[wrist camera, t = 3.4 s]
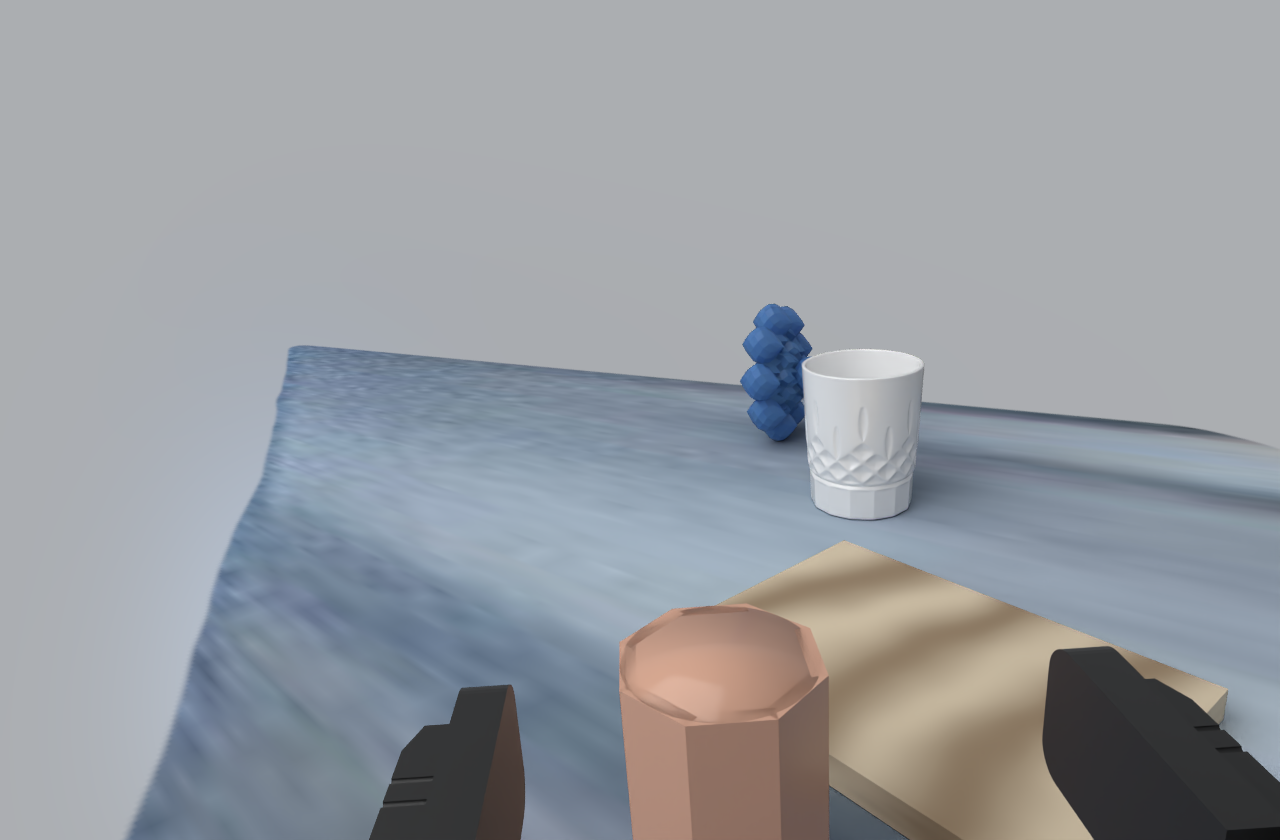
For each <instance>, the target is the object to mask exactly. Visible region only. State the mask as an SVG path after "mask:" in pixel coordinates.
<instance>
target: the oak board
mask: <svg viewBox="0 0 1280 840" xmlns="http://www.w3.org/2000/svg"><path fill="white" fill-rule="evenodd" d="M745 603H747V604H749V605H752V606H754V607H757V608H760V609H762V610H765V611H767V612H770V613H772V614H775V615H778V616H780V617H783V618H785V619H788V620H790V621H793V622H796V623H798V624H801V625H803V626H806V627H808V628H810V629H811V632H812V634H813V637H814V639H815V642H816V644H817V647H818V649H819V652H820V654H821V657H822V660H823V662H824V665H825V667H826V670H827V672H828V675H829V785H830V786H831V787H833V788H834V789H836V790H837V791H839V792H840V793H842V794H843V795H844V796H846V797H847V798H849V799H850V800H852V801H853V802H855V803H856V804H858V805H859V806H861V807H862V808H864V809H865V810H867V811H868V812H870V813H871V814H873V815H874V816H876V817H877V818H879V819H880V820H882V821H883V822H885V823H886V824H887V825H889V826H890V827H892V828H893V829H895V830H896V831H898V832H899V833H901V834H902V835H904V836H905V837H907V838H908V839H910V840H1094V839H1093V838H1092V836H1091V835H1090V833H1089V832H1088V831H1087V829H1086V828H1085V826H1084V825H1083V823H1082V822H1081V820H1080V819H1079V818H1078V816H1077V815H1076V813H1075V812H1074V810H1073V809H1072V807H1071V806H1070V805H1069V803H1068V802H1067V800H1066V799H1065V797H1064V796H1063V794H1062V793H1061V792H1060V790H1059V789H1058V787H1057V786H1056V784H1055V783H1054V781H1053V779H1052V777H1051V775H1050V773H1049V770H1048V768H1047V765H1046V761H1045V757H1044V752H1043V744H1042V734H1043V723H1044V713H1045V702H1046V692H1047V681H1048V671H1049V662H1050V658H1051V655H1052V653H1053V652H1054V651H1055V650H1057V649H1070V648H1085V647H1100V646H1110V647H1112V648H1114V649H1115V650H1117V651H1118V652H1119V653H1120V654H1121V655H1122V656H1123V657H1124V658H1125V659H1126V660H1127V661H1128V662H1129V663H1130V664H1131V665H1132V666H1133V667H1134V668H1135V669H1136V670H1137V671H1138V672H1139V673H1140V674H1141V675H1142V676H1143V677H1144V678H1145V679H1152V678H1155V679H1157V680H1159V681H1160V682H1162V683H1164V684H1166V685H1168V686H1169V687H1171V688H1173V689H1175V690H1176V691H1178V692H1180V693H1182V694H1184V695H1185V696H1187V697H1189V698H1191V699H1192V700H1193V701H1194V702H1195V703H1197V704H1198V705H1199V706H1200V707H1201V708H1202V709H1203V710H1204V711H1205V712H1206V713H1207V714H1208V715H1209V716H1210V717H1211V718H1212V719H1213V720H1214V721H1216V722H1217V723H1218V724H1220V723H1221V721H1222V720H1223V718H1224V712H1225V706H1226V700H1227V694H1228V689H1226V688H1224V687H1221V686H1219V685H1216V684H1214V683H1211V682H1208V681H1206V680H1203V679H1201V678H1198V677H1195V676H1193V675H1190V674H1188V673H1185V672H1183V671H1180V670H1177V669H1175V668H1172V667H1170V666H1167V665H1165V664H1162V663H1159V662H1157V661H1154V660H1152V659H1149V658H1146V657H1144V656H1141V655H1139V654H1136V653H1134V652H1131V651H1128V650H1126V649H1123V648H1121V647H1118V646H1115V645H1113V644H1110V643H1108V642H1105V641H1103V640H1100V639H1097V638H1095V637H1092V636H1090V635H1087V634H1085V633H1082V632H1079V631H1077V630H1074V629H1072V628H1069V627H1066V626H1064V625H1061V624H1059V623H1056V622H1054V621H1051V620H1048V619H1046V618H1043V617H1041V616H1038V615H1035V614H1033V613H1030V612H1028V611H1025V610H1023V609H1020V608H1017V607H1015V606H1012V605H1010V604H1007V603H1005V602H1002V601H999V600H997V599H994V598H992V597H989V596H986V595H984V594H981V593H979V592H976V591H974V590H971V589H968V588H966V587H963V586H961V585H958V584H955V583H953V582H950V581H948V580H945V579H943V578H940V577H937V576H935V575H932V574H930V573H927V572H925V571H922V570H919V569H917V568H914V567H912V566H909V565H906V564H904V563H901V562H899V561H896V560H894V559H891V558H888V557H886V556H883V555H881V554H878V553H875V552H873V551H870V550H868V549H865V548H863V547H860V546H857V545H855V544H852V543H850V542H847V541H842V542H840V543H838V544H836V545H834V546H832V547H830V548H828V549H826V550H824V551H822V552H820V553H818V554H816V555H814V556H812V557H810V558H808V559H806V560H804V561H802V562H800V563H798V564H797V565H795V566H793V567H791V568H789V569H787V570H785V571H783V572H781V573H779V574H777V575H775V576H773V577H771V578H769V579H767V580H765V581H763V582H761V583H759V584H757V585H755V586H753V587H751V588H749V589H747V590H745V591H743V592H741V593H739V594H737V595H735V596H733V597H731V598H729V599H727V600H725V601H723V602H721V603H719V604H717V605H715V606H718V605H732V604H745Z"/></svg>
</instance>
